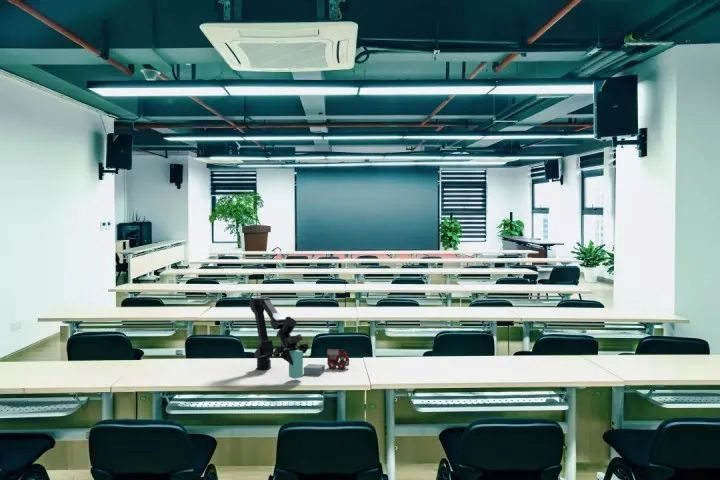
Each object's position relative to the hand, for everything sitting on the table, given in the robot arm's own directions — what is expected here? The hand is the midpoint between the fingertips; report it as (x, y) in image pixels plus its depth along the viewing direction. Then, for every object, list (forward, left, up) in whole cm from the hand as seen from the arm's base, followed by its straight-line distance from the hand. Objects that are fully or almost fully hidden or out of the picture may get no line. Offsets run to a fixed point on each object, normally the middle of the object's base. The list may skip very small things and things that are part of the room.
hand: (297, 363), depth 314 cm
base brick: (+2, +19, -9) cm, 21 cm away
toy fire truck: (+10, +34, -9) cm, 36 cm away
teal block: (-1, +1, -7) cm, 7 cm away
